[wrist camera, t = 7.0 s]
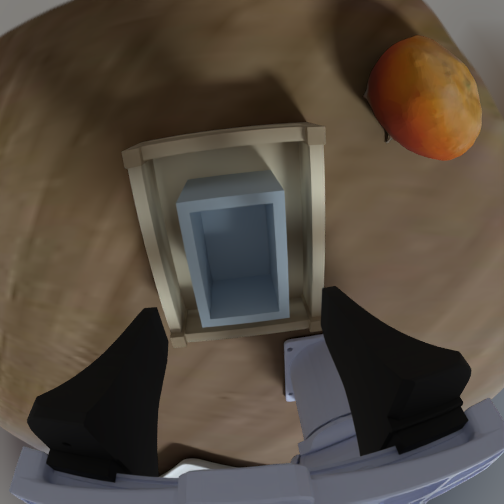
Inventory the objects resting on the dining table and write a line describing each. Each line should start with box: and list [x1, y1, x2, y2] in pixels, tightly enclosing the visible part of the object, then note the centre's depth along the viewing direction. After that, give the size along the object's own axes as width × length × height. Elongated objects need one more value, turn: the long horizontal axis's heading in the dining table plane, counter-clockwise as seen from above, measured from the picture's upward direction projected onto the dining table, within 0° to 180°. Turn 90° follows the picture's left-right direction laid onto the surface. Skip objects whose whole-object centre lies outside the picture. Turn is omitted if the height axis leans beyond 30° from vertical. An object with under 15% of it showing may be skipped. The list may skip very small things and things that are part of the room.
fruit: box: [362, 35, 482, 161], centre depth 16 cm, size 8×8×8 cm
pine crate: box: [122, 122, 326, 348], centre depth 20 cm, size 14×11×4 cm
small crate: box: [176, 170, 290, 328], centre depth 19 cm, size 8×5×5 cm
